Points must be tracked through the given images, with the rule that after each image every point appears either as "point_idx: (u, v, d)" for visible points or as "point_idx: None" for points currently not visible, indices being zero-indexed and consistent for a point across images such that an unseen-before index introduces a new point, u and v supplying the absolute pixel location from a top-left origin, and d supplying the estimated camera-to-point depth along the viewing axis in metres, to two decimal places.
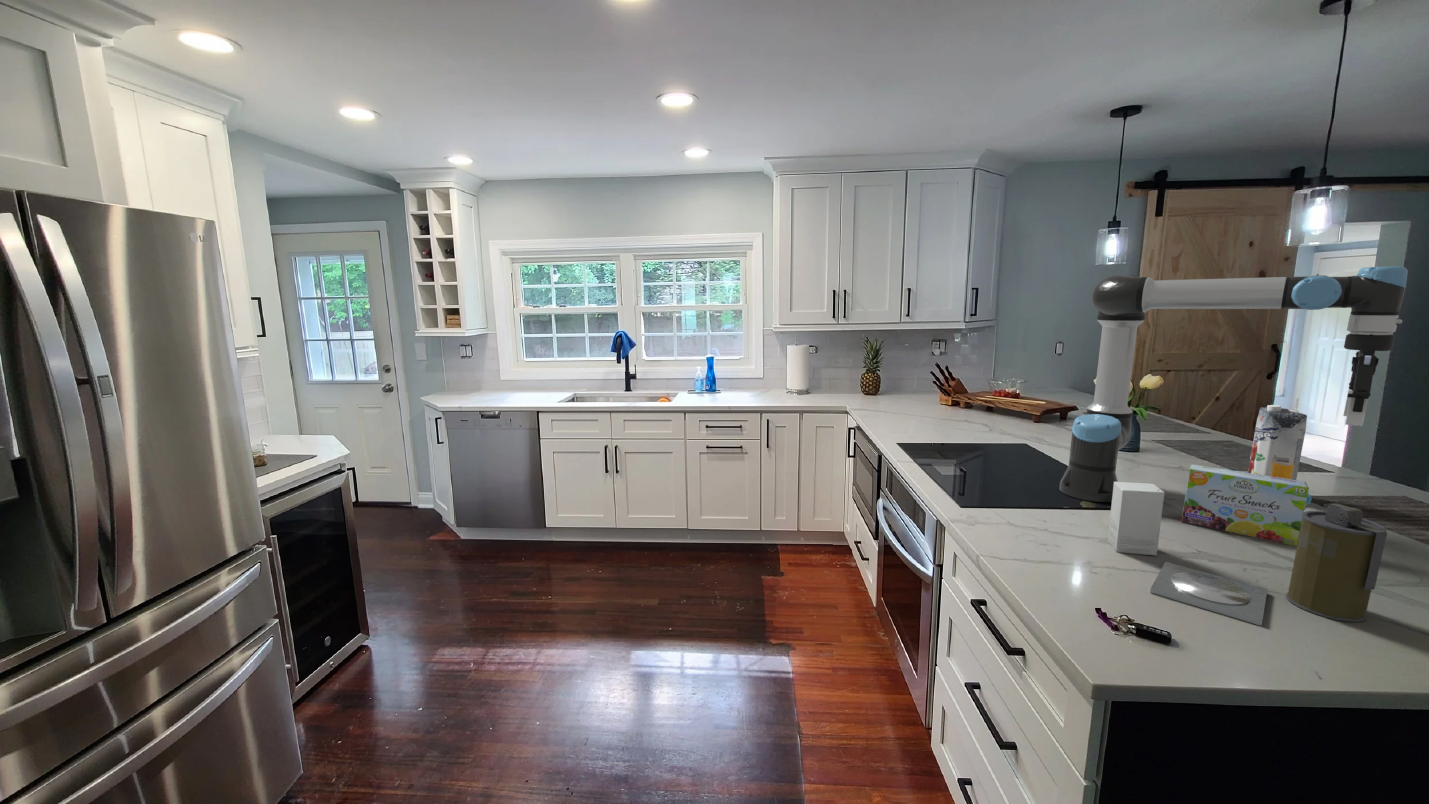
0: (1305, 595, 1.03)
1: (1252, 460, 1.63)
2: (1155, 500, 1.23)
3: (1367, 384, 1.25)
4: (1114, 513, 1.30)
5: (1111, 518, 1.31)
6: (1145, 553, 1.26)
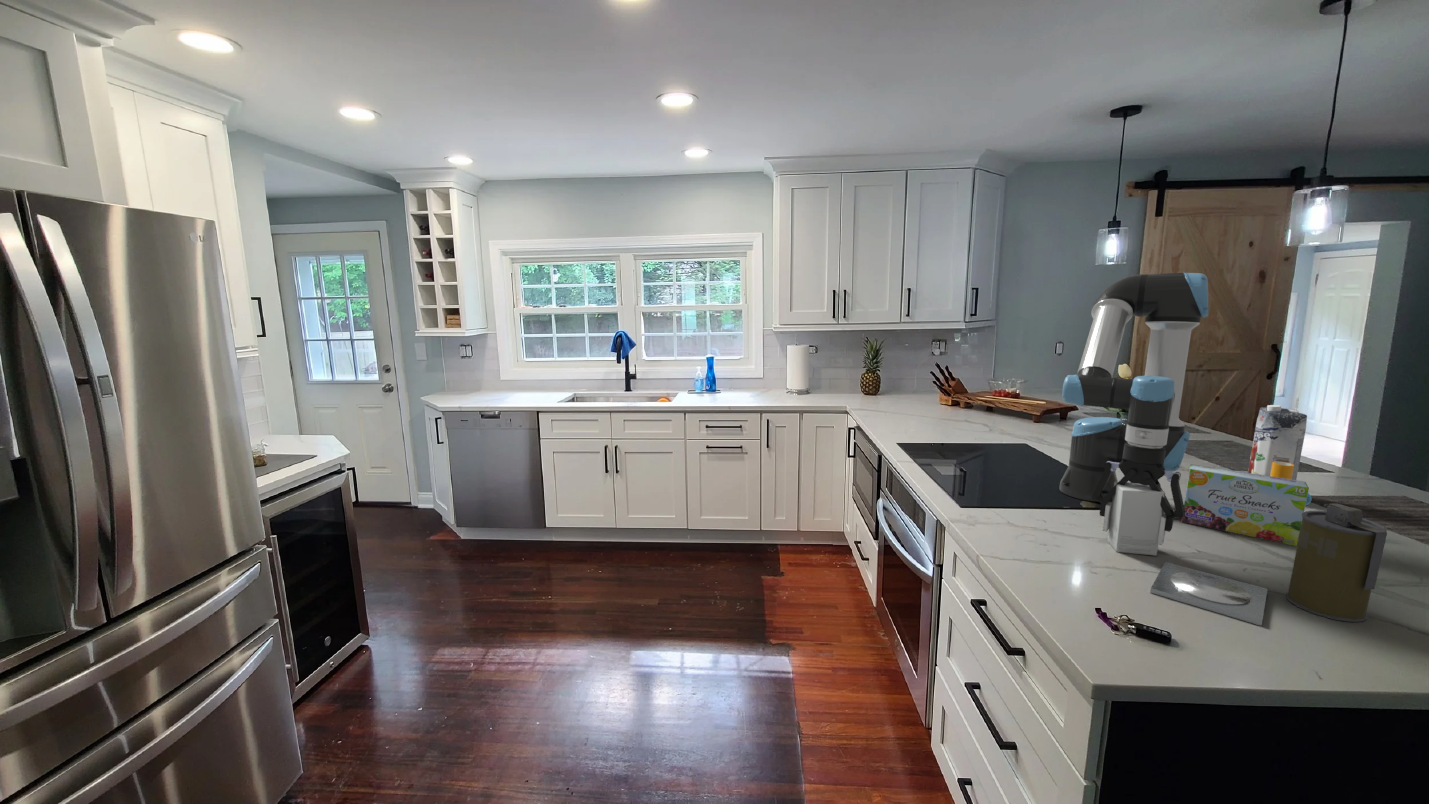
0: (1305, 595, 1.03)
1: (1252, 460, 1.63)
2: (1155, 500, 1.23)
3: (1096, 487, 1.32)
4: (1114, 513, 1.30)
5: (1111, 518, 1.31)
6: (1145, 553, 1.26)
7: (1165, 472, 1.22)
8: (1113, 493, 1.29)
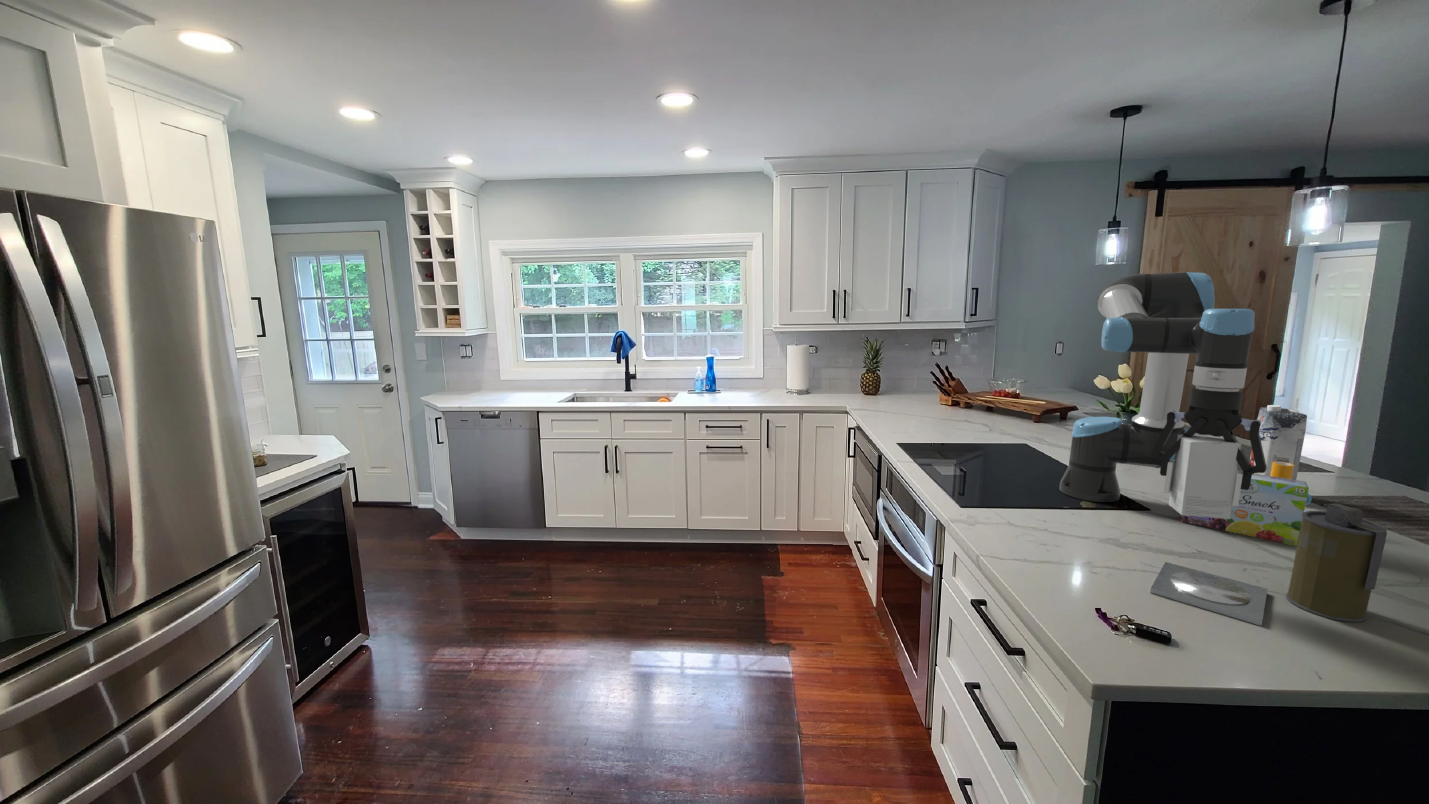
0: (1305, 595, 1.03)
1: (1252, 460, 1.63)
2: (1230, 453, 1.05)
3: (1156, 442, 1.14)
4: (1178, 471, 1.12)
5: (1174, 477, 1.13)
6: (1216, 516, 1.08)
7: (1242, 420, 1.04)
8: (1177, 448, 1.12)
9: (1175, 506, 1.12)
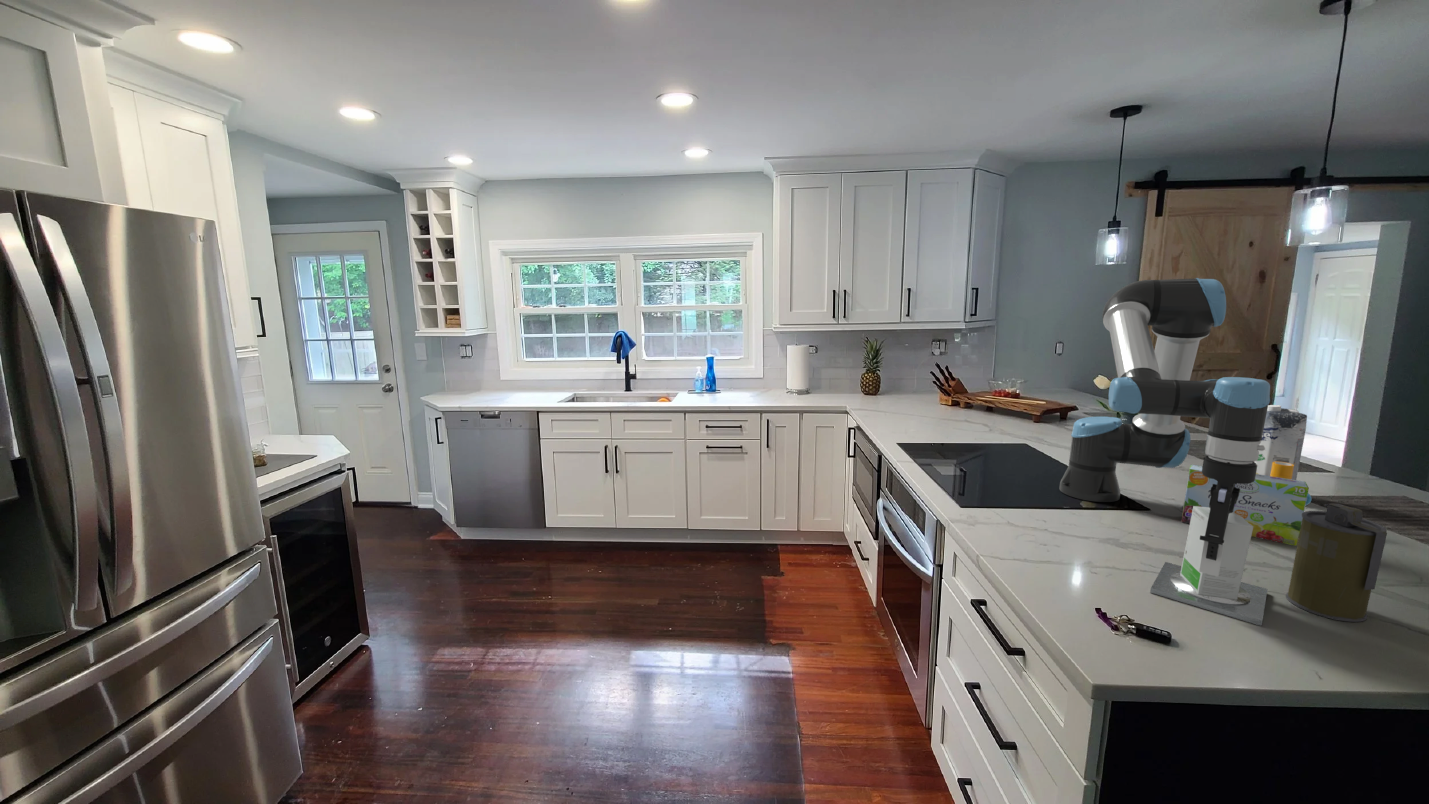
0: (1305, 595, 1.03)
1: None
2: None
3: (1220, 528, 1.00)
4: (1223, 558, 1.04)
5: None
6: None
7: None
8: (1225, 528, 1.02)
9: (1220, 593, 1.06)
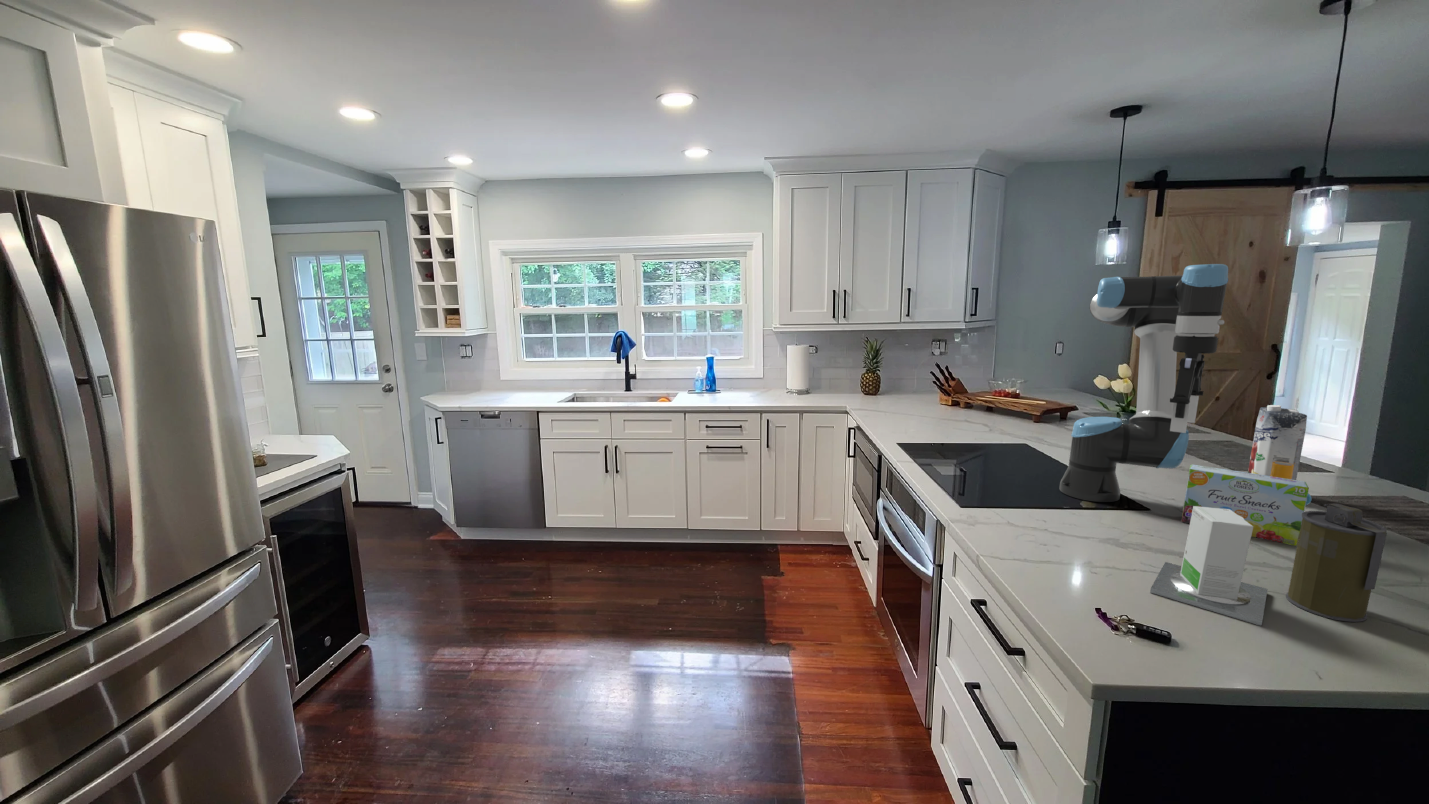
0: (1305, 595, 1.03)
1: (1252, 460, 1.63)
2: None
3: (1186, 388, 1.19)
4: (1223, 558, 1.04)
5: (1212, 565, 1.05)
6: None
7: None
8: (1191, 391, 1.21)
9: (1220, 593, 1.06)
